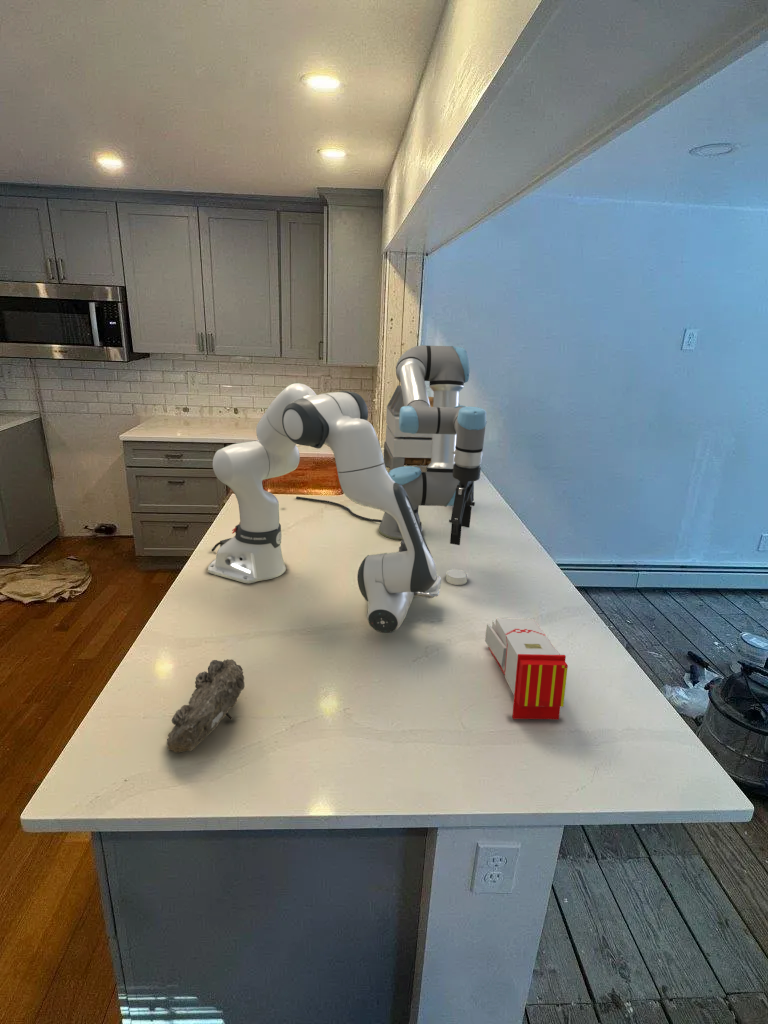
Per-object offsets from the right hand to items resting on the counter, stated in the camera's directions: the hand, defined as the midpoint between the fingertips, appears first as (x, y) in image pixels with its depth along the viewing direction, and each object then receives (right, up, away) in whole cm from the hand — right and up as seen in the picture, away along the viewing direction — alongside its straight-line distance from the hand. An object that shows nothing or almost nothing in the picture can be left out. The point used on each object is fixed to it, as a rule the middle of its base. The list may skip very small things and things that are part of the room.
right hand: (460, 535), depth 164 cm
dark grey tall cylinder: (-16, -16, -5) cm, 23 cm away
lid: (0, -12, +3) cm, 12 cm away
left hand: (-15, -9, -6) cm, 19 cm away
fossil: (-55, -33, -56) cm, 84 cm away
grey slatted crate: (-5, +25, +111) cm, 114 cm away
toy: (+7, -30, -40) cm, 50 cm away
